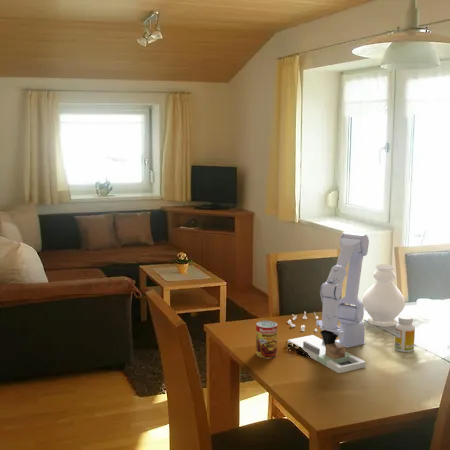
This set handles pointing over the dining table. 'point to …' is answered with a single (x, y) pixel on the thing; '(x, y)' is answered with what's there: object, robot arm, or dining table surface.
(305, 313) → the game piece set
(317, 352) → the deck
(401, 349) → the supplement bottle
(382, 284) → the decorative vase
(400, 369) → the dining table surface
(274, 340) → the canned food
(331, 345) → the block
